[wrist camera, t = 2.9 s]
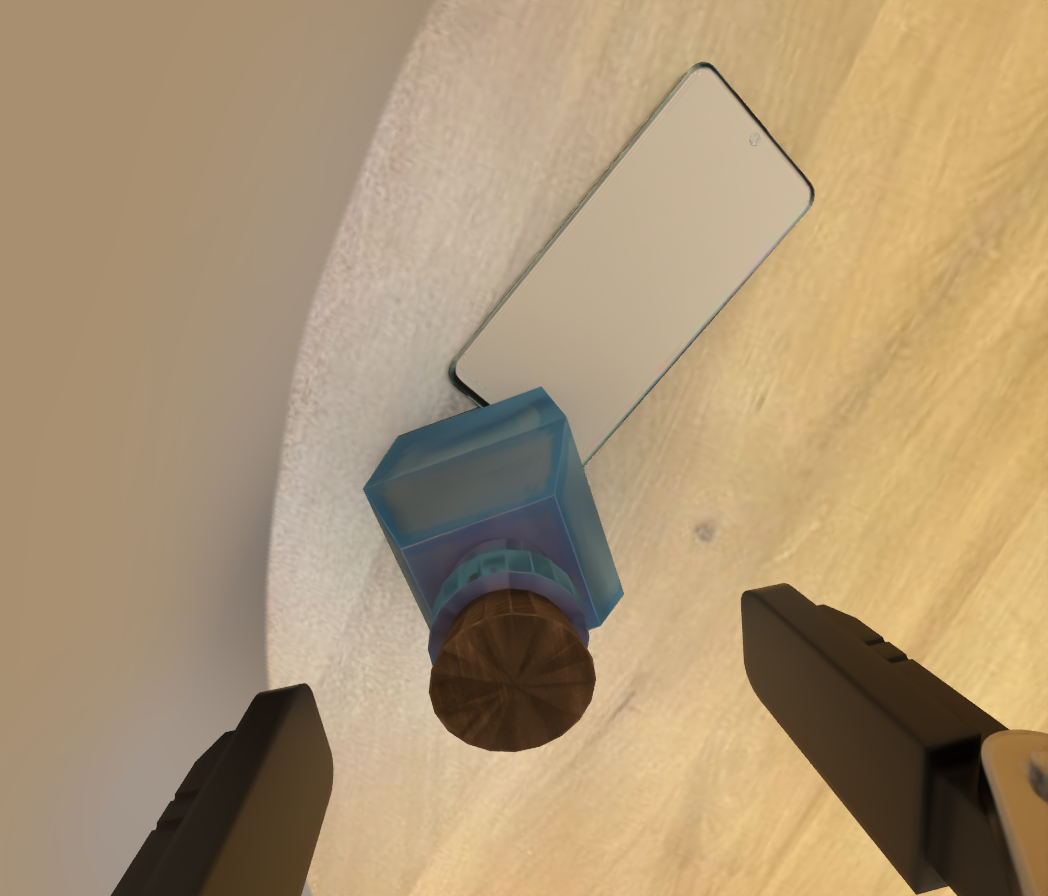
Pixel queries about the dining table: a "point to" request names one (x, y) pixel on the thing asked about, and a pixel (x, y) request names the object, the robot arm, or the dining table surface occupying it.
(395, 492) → the perfume bottle
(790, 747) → the dining table surface
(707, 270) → the smartphone
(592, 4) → the dining table surface
